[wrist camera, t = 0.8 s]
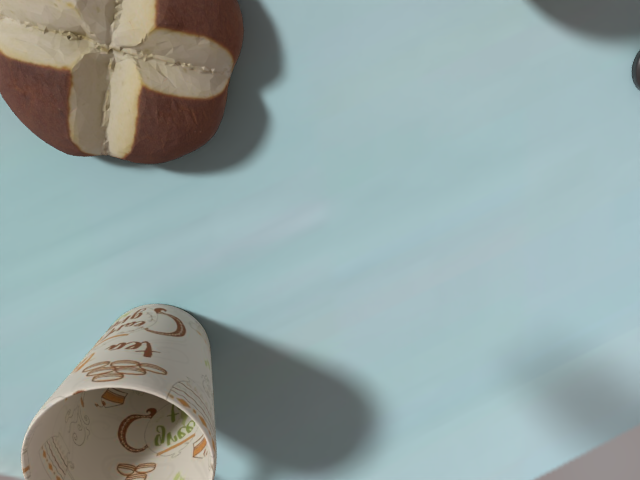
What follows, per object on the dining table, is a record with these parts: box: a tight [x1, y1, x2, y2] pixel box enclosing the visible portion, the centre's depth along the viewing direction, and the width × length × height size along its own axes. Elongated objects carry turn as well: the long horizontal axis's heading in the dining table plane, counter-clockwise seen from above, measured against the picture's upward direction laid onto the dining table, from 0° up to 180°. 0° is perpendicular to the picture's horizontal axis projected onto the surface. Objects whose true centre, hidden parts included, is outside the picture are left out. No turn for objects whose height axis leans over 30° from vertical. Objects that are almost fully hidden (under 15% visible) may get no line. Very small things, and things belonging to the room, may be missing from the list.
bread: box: [0, 0, 244, 164], centre depth 28 cm, size 11×11×5 cm
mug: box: [21, 304, 217, 480], centre depth 32 cm, size 8×13×10 cm, turn 171°
